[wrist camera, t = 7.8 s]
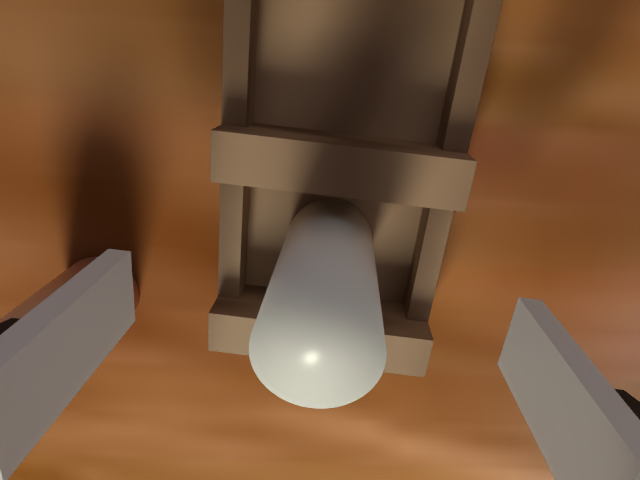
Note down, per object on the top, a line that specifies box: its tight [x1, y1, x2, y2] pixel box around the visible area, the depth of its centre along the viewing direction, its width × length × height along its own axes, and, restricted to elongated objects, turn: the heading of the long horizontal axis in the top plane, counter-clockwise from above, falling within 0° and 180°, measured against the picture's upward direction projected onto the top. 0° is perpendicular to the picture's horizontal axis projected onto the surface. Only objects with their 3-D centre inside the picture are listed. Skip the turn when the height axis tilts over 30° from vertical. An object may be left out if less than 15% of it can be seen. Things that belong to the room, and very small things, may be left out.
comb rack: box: [208, 0, 503, 377], centre depth 17 cm, size 10×26×4 cm, turn 174°
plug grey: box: [249, 199, 387, 409], centre depth 17 cm, size 4×4×9 cm
